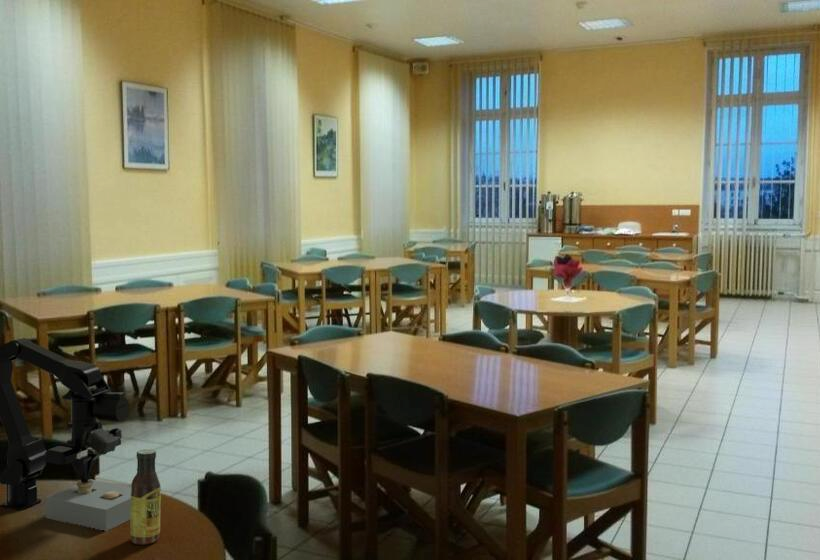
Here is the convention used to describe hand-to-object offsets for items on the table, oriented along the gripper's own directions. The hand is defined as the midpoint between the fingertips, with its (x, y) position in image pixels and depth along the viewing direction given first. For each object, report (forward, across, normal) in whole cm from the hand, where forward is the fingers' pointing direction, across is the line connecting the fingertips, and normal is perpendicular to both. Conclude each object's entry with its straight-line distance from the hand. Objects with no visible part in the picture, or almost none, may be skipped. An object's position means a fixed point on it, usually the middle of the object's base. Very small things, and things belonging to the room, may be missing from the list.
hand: (84, 482), depth 187 cm
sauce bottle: (+7, -7, -24) cm, 26 cm away
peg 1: (+6, 0, 0) cm, 6 cm away
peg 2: (+7, 0, -8) cm, 11 cm away
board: (+7, 0, -4) cm, 8 cm away
